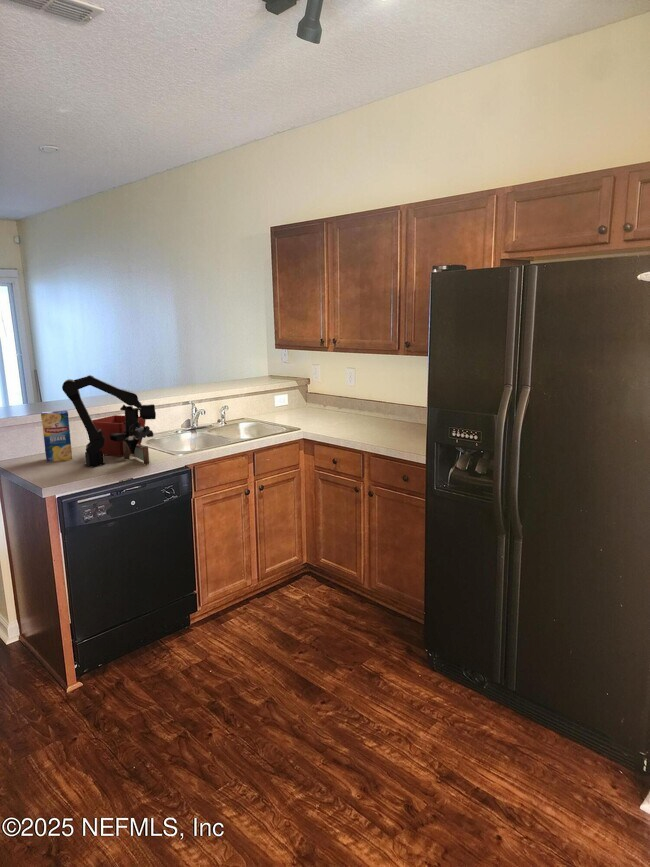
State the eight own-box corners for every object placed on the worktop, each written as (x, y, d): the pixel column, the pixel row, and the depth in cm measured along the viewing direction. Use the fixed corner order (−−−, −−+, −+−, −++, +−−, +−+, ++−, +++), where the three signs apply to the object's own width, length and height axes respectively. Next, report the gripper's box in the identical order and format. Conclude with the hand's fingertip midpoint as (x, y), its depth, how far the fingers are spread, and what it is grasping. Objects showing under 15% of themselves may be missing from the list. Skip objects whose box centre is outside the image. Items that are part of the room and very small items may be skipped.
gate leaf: (143, 461, 254) (142, 447, 253) (132, 456, 263) (131, 443, 262) (146, 460, 256) (145, 447, 254) (136, 455, 264) (135, 443, 263)
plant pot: (117, 447, 287) (114, 414, 283) (149, 450, 280) (146, 416, 277) (90, 456, 269) (86, 421, 266) (123, 459, 263) (120, 423, 259)
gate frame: (145, 464, 252) (144, 447, 251) (123, 459, 263) (121, 442, 261) (150, 463, 254) (149, 446, 253) (127, 458, 265) (126, 441, 263)
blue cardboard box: (45, 459, 264) (40, 412, 259) (71, 456, 269) (67, 410, 264) (46, 462, 258) (41, 414, 253) (72, 459, 263) (68, 412, 258)
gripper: (123, 424, 242) (124, 459, 245) (160, 419, 257) (161, 453, 259) (108, 421, 249) (110, 456, 252) (145, 417, 264) (146, 450, 266)
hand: (132, 454), depth 257 cm, fingers closed
